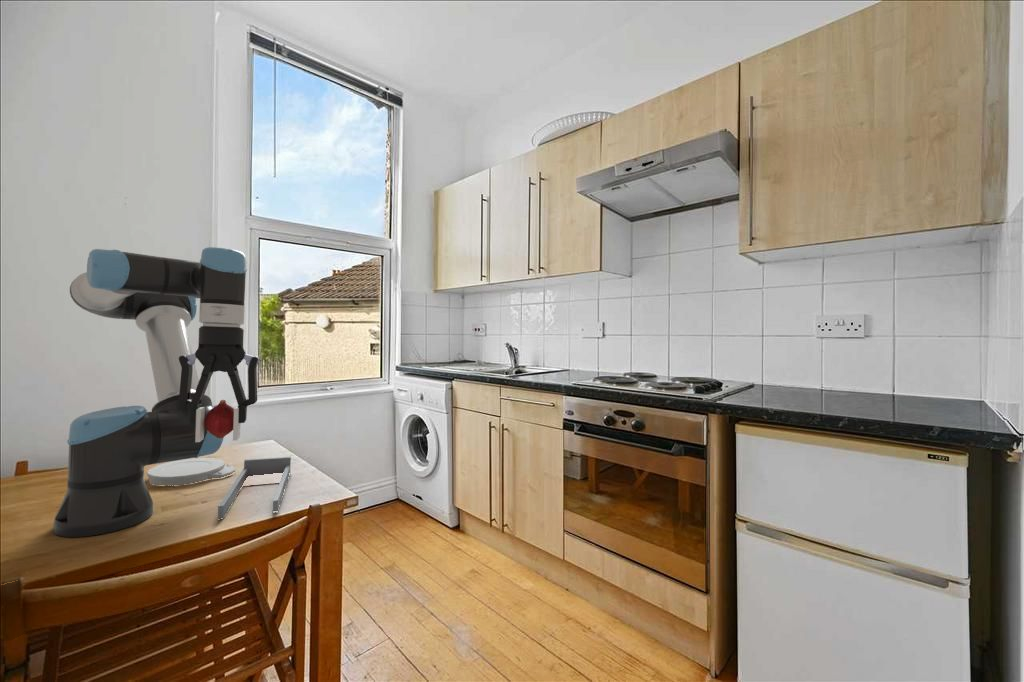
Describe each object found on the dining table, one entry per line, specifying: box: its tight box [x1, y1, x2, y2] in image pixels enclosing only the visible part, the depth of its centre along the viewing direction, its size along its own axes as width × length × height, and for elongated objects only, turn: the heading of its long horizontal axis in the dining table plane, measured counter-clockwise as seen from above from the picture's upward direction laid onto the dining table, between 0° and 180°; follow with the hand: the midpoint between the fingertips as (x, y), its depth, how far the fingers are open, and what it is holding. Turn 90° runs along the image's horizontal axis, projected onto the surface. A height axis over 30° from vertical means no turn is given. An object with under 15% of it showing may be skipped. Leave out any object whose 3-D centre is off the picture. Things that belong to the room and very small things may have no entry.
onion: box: [204, 399, 234, 438], centre depth 89 cm, size 6×6×8 cm
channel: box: [217, 456, 292, 520], centre depth 108 cm, size 11×29×5 cm, turn 22°
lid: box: [146, 457, 236, 486], centre depth 119 cm, size 17×20×3 cm
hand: (218, 439), depth 87 cm, fingers closed on onion, 6 cm apart
